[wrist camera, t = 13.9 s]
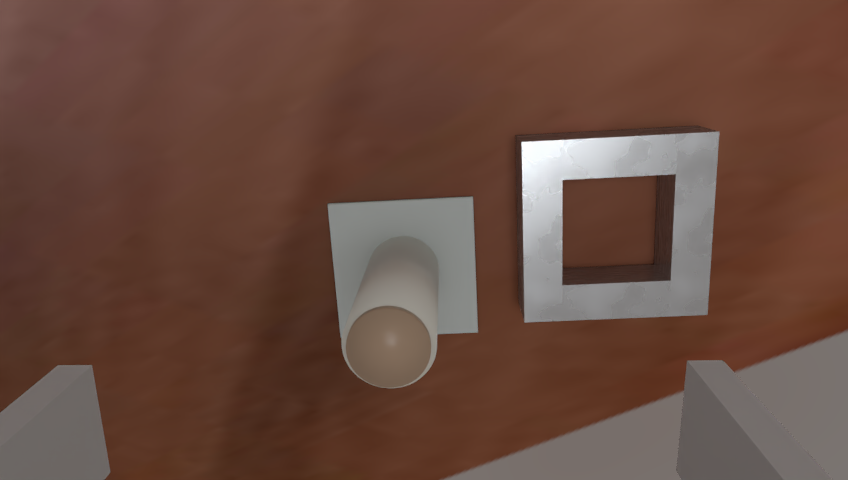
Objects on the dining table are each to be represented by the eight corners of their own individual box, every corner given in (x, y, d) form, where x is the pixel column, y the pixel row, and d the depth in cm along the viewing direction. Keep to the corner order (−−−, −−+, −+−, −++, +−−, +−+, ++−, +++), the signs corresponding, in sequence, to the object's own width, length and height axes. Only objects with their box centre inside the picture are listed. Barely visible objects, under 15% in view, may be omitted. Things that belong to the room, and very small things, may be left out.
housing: (518, 303, 47) (524, 322, 44) (515, 135, 44) (521, 141, 40) (688, 296, 47) (707, 314, 43) (697, 125, 43) (719, 131, 40)
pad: (341, 336, 48) (340, 338, 48) (328, 203, 45) (327, 204, 45) (477, 330, 48) (478, 332, 47) (472, 196, 45) (472, 197, 45)
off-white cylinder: (371, 304, 47) (344, 394, 35) (365, 237, 46) (335, 305, 33) (440, 302, 47) (439, 391, 34) (437, 234, 46) (434, 301, 33)
